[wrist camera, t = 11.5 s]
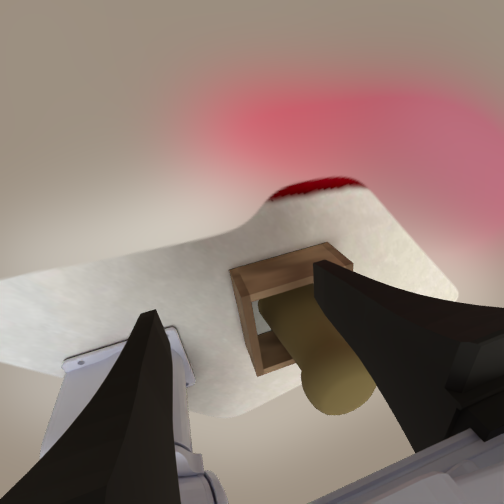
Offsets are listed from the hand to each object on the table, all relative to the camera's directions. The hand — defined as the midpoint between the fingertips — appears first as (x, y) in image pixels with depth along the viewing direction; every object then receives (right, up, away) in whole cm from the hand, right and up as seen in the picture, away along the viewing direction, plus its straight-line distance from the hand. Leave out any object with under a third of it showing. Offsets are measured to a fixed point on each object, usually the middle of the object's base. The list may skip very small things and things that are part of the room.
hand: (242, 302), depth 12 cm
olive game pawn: (+4, -2, +15) cm, 16 cm away
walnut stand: (+4, -2, +15) cm, 15 cm away
